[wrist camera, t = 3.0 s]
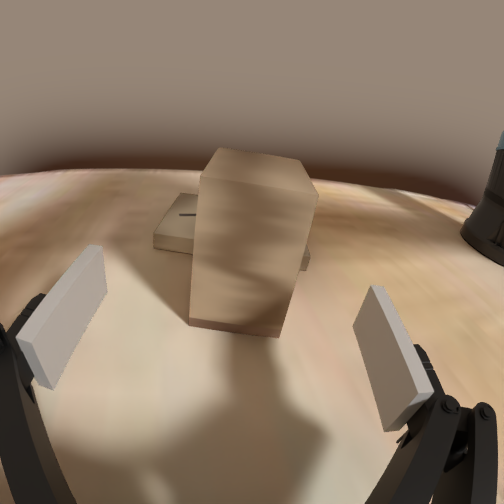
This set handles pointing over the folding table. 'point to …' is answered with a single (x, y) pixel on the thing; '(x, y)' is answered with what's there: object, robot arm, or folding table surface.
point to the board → (187, 228)
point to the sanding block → (249, 241)
